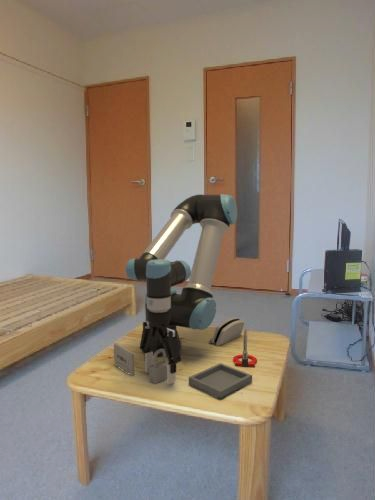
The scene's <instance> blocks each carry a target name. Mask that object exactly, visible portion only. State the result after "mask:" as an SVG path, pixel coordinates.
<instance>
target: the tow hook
mask: <svg viewBox="0 0 375 500" xmlns="http://www.w3.org/2000/svg"><path fill="white" fill-rule="evenodd" d="M243 330H244V331H243V332H244V335H243V348H242V349H243V351H242V354H238V355H233V357H232V361H233V362H234V366H238V367H247V368H248V367H250V368H251V367H255V366H256V365H255V364H257V363H258V358H257V357H256V356H253V355H250V354H248V335H247V334H248V330H247V329H243ZM240 359H241V360H240ZM249 360H250V361H249Z"/></svg>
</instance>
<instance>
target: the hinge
mask: <svg viewBox="0 0 375 500" xmlns="http://www.w3.org/2000/svg"><path fill="white" fill-rule="evenodd" d="M244 325H245V322H244V321H243V320H241V319H240V318H238V317H231V318H228V319H226V320H224V321H223V322H221V323H220V324H218V325H217V327H215V330H214V333H213V336H212V337H211V338H209V340H208V341H207V342H208V344H211V343H212V344H215V346H216V347H219V346H222V345H223V344H226V343H228V342H229V341H232V340H234V339H236V338H238V337H241V336H242V334H243V333H242V332H243V330H244V329H243V328H244V327H245V326H244Z"/></svg>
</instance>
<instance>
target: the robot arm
mask: <svg viewBox="0 0 375 500" xmlns="http://www.w3.org/2000/svg"><path fill="white" fill-rule="evenodd" d="M237 207H238V206H237V202H236V200H235V198H234V197H233V196H232V195H230V194H223V193H220V194H194V195H191V196H189V197H188V198H186V199H184V200H183V201H182V202H180V203H179V204H177V206H175V208H174V209H173V210H171V213H170V218H169V219H168V221H166V223H165V224H164V226H163V227H162V228H161V229H160V231H159V232H158V234H157V235H156V236H155V237H154V238H153V239H152V241H151V242H150V243H149V245H148V246H147V247H146V249H145V250H144V251H143V252H142V254H141V255H140V256H139V257H138V258H137V257H136V258H130V259H129V260H128V261H127V263H126V265H125V273H126V276H127V277H128V278H129V279H130V280H132V281H133V280H134V281H137V282H146V283H145V284H146V294H145V301H144V305H145V307H144V308H145V309H144V310H145V311H144V312H145V321H143V322H142V332H141V338H140V343H139V349H140V350H141V351H142V353H144V354H143V355H144V363H145V369H144V370H145V371H144V372H145V373H146V374H149V366H151V365H153V356H154V353H155V352H156V351H157V350H158V349H164V350H165V352H166V359H167V361H168V362H169V363H167V379H166V381H167V382H166V383H167V384H172V383H174V382H176V373H177V364H178V363H180V362H182V357H181V350H182V341H181V338H180V336H179V333H178V330H177V327H181V328H187V329H192V330H200V331H202V330H206V329H208V328H209V327H210V326H211V325H212V323H213V322H214V319H215V317H216V313H217V302H216V300H215V299H214V294H213V292H212V291H211V289H212V286H213V285H212V284H213V280H214V276H215V272H216V269H217V263H218V259H219V256H220V255H219V254H220V251H221V245H222V241H223V237H224V234H225V233H227V232H228V231H229V230H230V225H235V224H236V223H237V219H238V208H237ZM196 224H199V225H200V227H201V230H200V231H201V232H200V236H199V240H198V243H197V247H196V252H195V255H194V259H193V264H192V266H190V265H189V264H188V262H187V261H184V260H174V261H169V260H168V259H166V258H167V257H168V255H169V254H170V252H171V251H172V250H173V248H174V246H175V245H176V244H177V242H178V241H179V240H180V238H181V237H182V236H183V234H184V232H185V231H186V230H188V229H190V228H191V227H192V226H193V225H196ZM187 281H188V282H187ZM185 282H187V285H185V286H183V287H182V289H181V293H177V290H176V288H173V287H174V286H177V285H180V284H183V283H185ZM157 357H163V353H162V352H160V353H159V354H158V355H157Z"/></svg>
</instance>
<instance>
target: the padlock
mask: <svg viewBox="0 0 375 500" xmlns="http://www.w3.org/2000/svg"><path fill="white" fill-rule="evenodd" d="M160 352H162V353H163V356H162V360H160V361H158V359H157V358H158V356H157V355H158V354H159V353H160ZM167 363H169V361H168V360H167V356H166V352H165V350H164V349H158V350H157V351H156V352H155V353H154V356H153V365H151V366H149V372H148V381H149V382H150V383H153V384H156V385H157V384H159V383H161V382H165V381H167Z"/></svg>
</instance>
